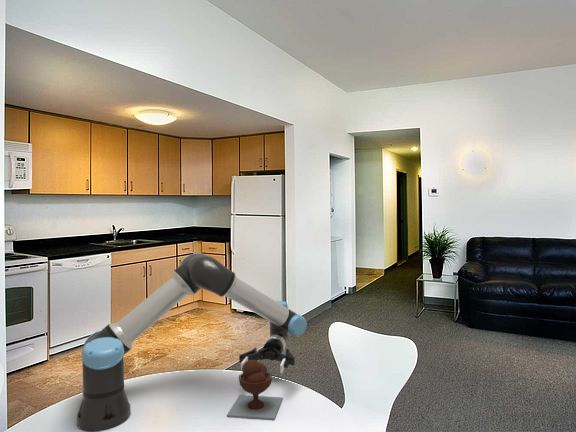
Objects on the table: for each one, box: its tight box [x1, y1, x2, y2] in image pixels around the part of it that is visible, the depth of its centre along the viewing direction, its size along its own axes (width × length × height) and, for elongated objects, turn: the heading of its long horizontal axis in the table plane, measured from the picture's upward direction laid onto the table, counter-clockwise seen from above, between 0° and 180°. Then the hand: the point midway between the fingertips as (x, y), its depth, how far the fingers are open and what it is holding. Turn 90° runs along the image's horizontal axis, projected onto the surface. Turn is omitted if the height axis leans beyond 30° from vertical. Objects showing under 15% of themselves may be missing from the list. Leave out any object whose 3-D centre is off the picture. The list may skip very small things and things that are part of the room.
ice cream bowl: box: [238, 360, 273, 410], centre depth 130 cm, size 11×11×15 cm
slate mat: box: [226, 394, 284, 421], centre depth 130 cm, size 15×14×1 cm
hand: (261, 368), depth 136 cm, fingers open, 13 cm apart
